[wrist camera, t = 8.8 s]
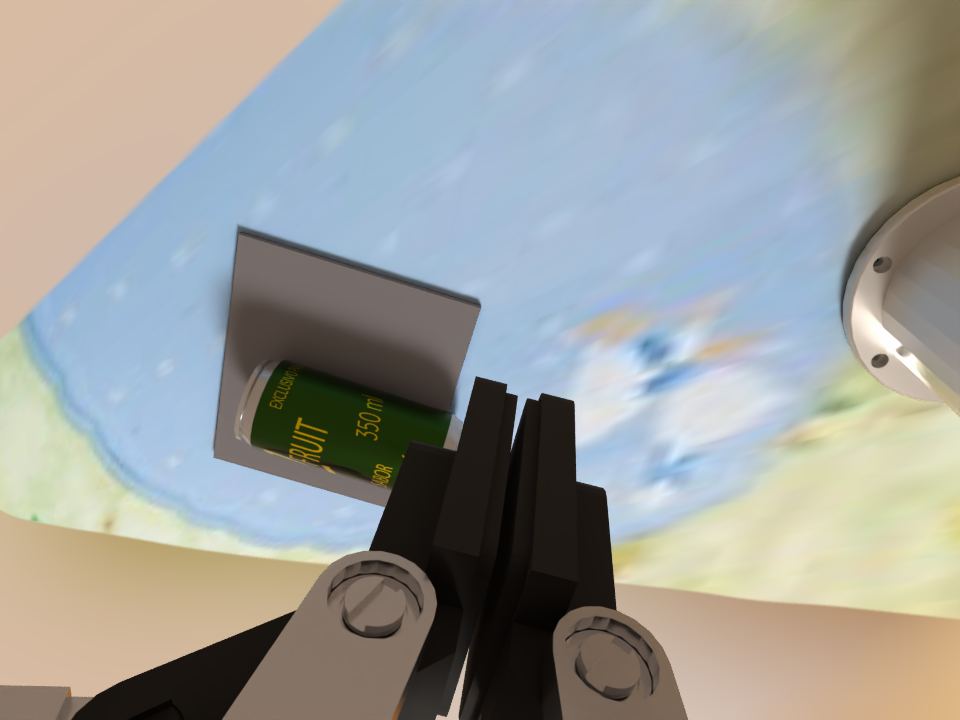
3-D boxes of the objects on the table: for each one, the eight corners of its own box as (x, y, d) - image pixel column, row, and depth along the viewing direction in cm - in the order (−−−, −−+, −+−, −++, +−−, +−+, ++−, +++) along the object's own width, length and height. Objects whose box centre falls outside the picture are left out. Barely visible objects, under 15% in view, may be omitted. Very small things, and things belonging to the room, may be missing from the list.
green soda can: (447, 458, 42) (268, 402, 41) (469, 399, 39) (276, 336, 38) (430, 523, 38) (229, 461, 37) (454, 463, 35) (235, 393, 34)
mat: (481, 305, 37) (480, 308, 36) (416, 512, 44) (415, 515, 44) (241, 232, 36) (238, 234, 36) (216, 454, 44) (213, 457, 43)
